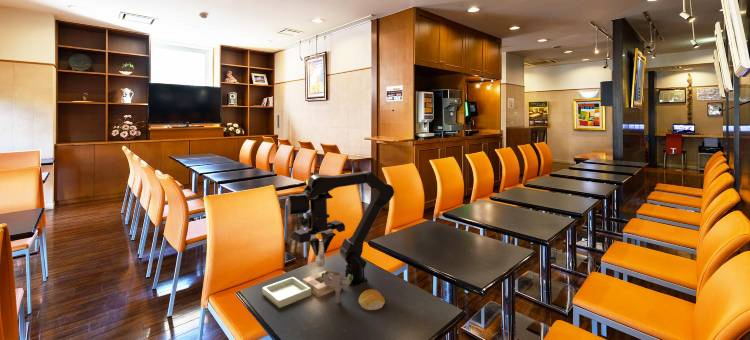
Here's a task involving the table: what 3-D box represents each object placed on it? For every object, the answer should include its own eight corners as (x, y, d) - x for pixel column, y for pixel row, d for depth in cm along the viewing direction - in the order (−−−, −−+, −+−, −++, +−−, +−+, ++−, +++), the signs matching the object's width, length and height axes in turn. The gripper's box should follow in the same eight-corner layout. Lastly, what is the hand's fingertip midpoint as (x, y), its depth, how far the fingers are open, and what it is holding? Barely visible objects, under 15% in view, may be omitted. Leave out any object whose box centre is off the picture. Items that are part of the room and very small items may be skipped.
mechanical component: (351, 305, 116) (351, 277, 114) (321, 302, 118) (320, 274, 116) (354, 301, 119) (353, 272, 117) (324, 298, 121) (323, 270, 119)
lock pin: (321, 262, 129) (321, 238, 127) (326, 265, 127) (325, 240, 125) (314, 264, 127) (313, 240, 125) (319, 267, 125) (318, 243, 123)
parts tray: (293, 282, 132) (293, 276, 131) (311, 295, 123) (311, 288, 122) (262, 294, 124) (262, 287, 123) (279, 308, 115) (278, 300, 114)
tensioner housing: (326, 277, 135) (325, 270, 135) (342, 287, 128) (341, 279, 127) (303, 286, 129) (302, 279, 128) (318, 297, 121) (318, 289, 121)
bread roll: (378, 295, 123) (378, 284, 122) (387, 308, 114) (387, 296, 114) (355, 298, 120) (355, 287, 120) (362, 313, 112) (362, 301, 111)
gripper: (327, 202, 136) (328, 241, 138) (282, 212, 123) (285, 254, 126) (345, 208, 127) (346, 249, 130) (299, 219, 115) (301, 264, 118)
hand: (320, 254), depth 126 cm, fingers closed on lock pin, 3 cm apart
